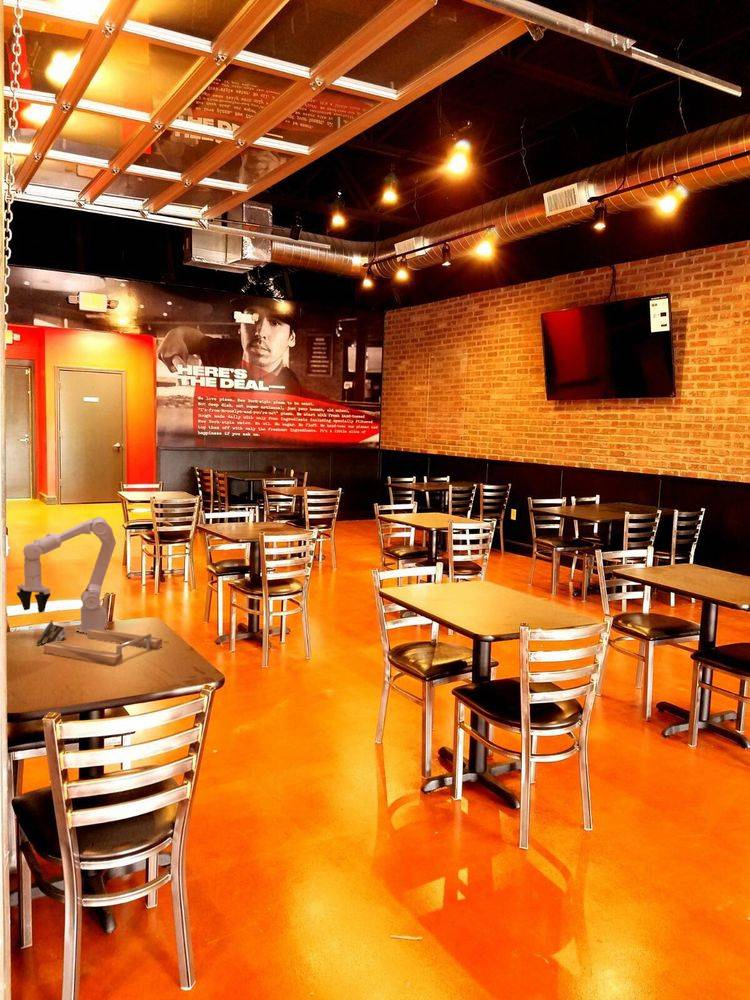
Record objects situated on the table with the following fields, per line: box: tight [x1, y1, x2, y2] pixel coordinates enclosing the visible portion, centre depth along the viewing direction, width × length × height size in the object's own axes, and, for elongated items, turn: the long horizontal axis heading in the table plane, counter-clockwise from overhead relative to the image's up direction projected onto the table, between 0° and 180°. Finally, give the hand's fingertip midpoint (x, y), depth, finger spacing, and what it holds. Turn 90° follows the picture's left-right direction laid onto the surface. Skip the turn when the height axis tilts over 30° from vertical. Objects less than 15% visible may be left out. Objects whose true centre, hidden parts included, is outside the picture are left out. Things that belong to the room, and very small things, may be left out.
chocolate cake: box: [36, 619, 67, 645], centre depth 274 cm, size 10×7×12 cm
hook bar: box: [115, 633, 152, 655], centre depth 258 cm, size 16×1×6 cm, turn 156°
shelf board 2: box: [86, 628, 163, 651], centre depth 273 cm, size 4×32×3 cm, turn 66°
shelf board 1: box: [43, 642, 124, 667], centre depth 255 cm, size 4×32×3 cm, turn 66°
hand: (34, 610), depth 278 cm, fingers open, 7 cm apart
